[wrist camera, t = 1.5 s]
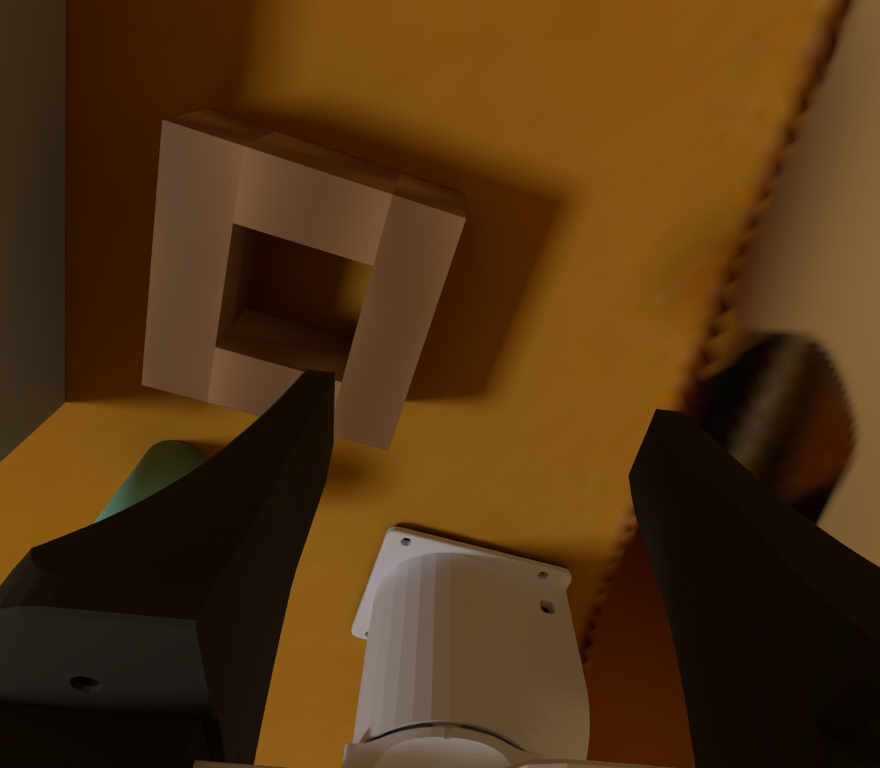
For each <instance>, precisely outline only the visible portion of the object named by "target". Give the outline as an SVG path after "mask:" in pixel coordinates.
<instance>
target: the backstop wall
mask: <svg viewBox="0 0 880 768" xmlns="http://www.w3.org/2000/svg"><path fill="white" fill-rule="evenodd" d="M65 238H66V0H0V462H1V461H2V460H3V459H4V458H5V457H6V456H7V455H8V454H10V453H11V452H12V451H13V450H14V449H15V448H16V447H17V446H18V445H19V444H20V443H22V442H23V441H24V440H25V439H26V438H27V437H28V436H29V435H30V434H31V433H33V432H34V431H35V430H36V429H37V428H38V427H39V426H40V425H41V424H42V423H43V422H45V421H46V420H47V419H48V418H49V417H50V416H51V415H52V414H53V413H54V412H55V411H57V410H58V409H59V408H60V407H61V406H62V405H63V404H64V403H65Z"/></svg>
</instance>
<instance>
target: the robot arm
mask: <svg viewBox="0 0 880 768" xmlns="http://www.w3.org/2000/svg"><path fill="white" fill-rule="evenodd" d="M334 402H335V372H326V371H318V370H309V369H307V370H306V371H304V372H303V373H302V374H301V375H300V376H299V377H298V378H297V380H296V381H295V382H294V383H293V384H292V385H291V386H290V387H289V388H288V389H287V390H286V391H285V393H284V394H283V395H282V396H281V397H280V398H279V399H278V400H277V401H276V402H275V403H274V404H273V405H272V406H271V407H270V408H269V409H268V410H266V411H265V412H264V413H263V414H262V415H261V416H260V417H259V418H258V419H257V420H256V421H255V422H254V423H253V424H252V425H250V426H249V427H248V428H247V429H246V430H245V431H243V432H242V433H241V434H240V435H239V436H238V437H236V438H235V439H234V440H233V441H232V442H230V443H229V444H228V445H227V446H226V447H224V448H223V449H222V450H220V451H219V452H218V453H216V454H215V455H214V456H212V457H211V458H210V459H208V460H207V461H206V462H204V463H203V464H201V465H200V466H198V467H197V468H196V469H194V470H193V471H191V472H190V473H188V474H187V475H185V476H183V477H182V478H180V479H178V480H177V481H175V482H173V483H172V484H170V485H168V486H167V487H165V488H163V489H161V490H160V491H158V492H156V493H155V494H153V495H151V496H149V497H147V498H146V499H144V500H142V501H140V502H138V503H136V504H134V505H132V506H130V507H128V508H126V509H124V510H122V511H120V512H118V513H116V514H113V515H111V516H109V517H107V518H105V519H103V520H101V521H98V522H96V523H94V524H92V525H89V526H87V527H84V528H82V529H79V530H77V531H74V532H72V533H69V534H67V535H64V536H62V537H59V538H57V539H54V540H52V541H49V542H47V543H44V544H42V545H39V546H36V547H33V548H31V550H30V551H29V552H28V553H27V554H26V555H25V557H24V558H23V559H22V560H21V561H20V562H19V563H18V564H17V566H16V567H15V568H14V569H13V570H12V571H11V573H10V574H9V575H8V577H7V578H6V579H5V581H4V582H3V583H2V585H1V586H0V768H285V767H273V766H261V765H254V761H255V755H256V750H257V745H258V740H259V735H260V730H261V725H262V720H263V715H264V710H265V705H266V700H267V695H268V691H269V686H270V681H271V676H272V671H273V667H274V662H275V657H276V653H277V648H278V644H279V639H280V635H281V630H282V625H283V621H284V617H285V612H286V608H287V604H288V599H289V595H290V590H291V586H292V583H293V579H294V576H295V572H296V569H297V566H298V563H299V560H300V557H301V554H302V551H303V548H304V545H305V542H306V539H307V536H308V533H309V530H310V527H311V524H312V521H313V518H314V516H315V513H316V510H317V507H318V504H319V501H320V498H321V495H322V492H323V489H324V486H325V482H326V478H327V473H328V468H329V463H330V458H331V453H332V448H333V443H334ZM629 482H630V488H631V495H632V500H633V506H634V511H635V516H636V519H637V522H638V525H639V529H640V531H641V535H642V537H643V541H644V544H645V547H646V550H647V553H648V556H649V559H650V562H651V565H652V568H653V571H654V574H655V577H656V580H657V583H658V586H659V589H660V592H661V595H662V598H663V601H664V604H665V608H666V611H667V615H668V618H669V622H670V627H671V631H672V636H673V641H674V645H675V650H676V655H677V659H678V664H679V669H680V675H681V680H682V685H683V691H684V696H685V702H686V707H687V714H688V720H689V727H690V733H691V740H692V746H693V753H694V759H695V767H696V768H880V567H878V566H877V565H875V564H873V563H872V562H870V561H868V560H867V559H865V558H864V557H862V556H860V555H859V554H857V553H856V552H854V551H853V550H851V549H849V548H848V547H847V546H845V545H844V544H842V543H841V542H839V541H838V540H836V539H835V538H833V537H832V536H830V535H829V534H828V533H826V532H825V531H823V530H822V529H821V528H819V527H818V526H816V525H815V524H814V523H812V522H811V521H809V520H808V519H807V518H805V517H804V516H803V515H801V514H800V513H799V512H798V511H796V510H795V509H794V508H792V507H791V506H790V505H789V504H787V503H786V502H785V501H784V500H783V499H781V498H780V497H779V496H778V495H776V494H775V493H774V492H773V491H771V490H770V489H769V488H768V487H767V486H766V485H764V484H763V483H762V482H761V481H760V480H759V479H757V478H756V477H755V476H754V475H753V474H752V473H751V472H749V471H748V470H747V469H746V468H745V467H744V466H743V465H742V464H740V463H739V462H738V461H737V460H736V459H735V458H734V457H733V456H732V455H731V454H729V453H728V452H727V451H726V450H725V449H724V448H723V447H722V446H721V445H720V444H719V443H718V442H716V441H715V440H714V439H713V438H712V437H711V436H710V435H709V434H708V433H707V432H706V431H704V430H703V429H702V428H701V427H700V426H699V425H698V424H697V423H695V422H694V421H693V420H692V419H691V418H690V417H688V416H687V415H686V414H685V413H683V412H677V411H668V410H660V409H656V411H655V413H654V416H653V418H652V420H651V423H650V425H649V428H648V430H647V432H646V435H645V437H644V440H643V442H642V444H641V447H640V449H639V452H638V454H637V456H636V459H635V461H634V464H633V466H632V468H631V471H630V473H629ZM403 538H409V539H410V540H404V539H403ZM540 572H545V573H540ZM571 580H572V578H571V573H570V571H569V570H568V569H566V568H562V567H558V566H554V565H550V564H546V563H542V562H538V561H534V560H530V559H526V558H522V557H518V556H514V555H510V554H506V553H502V552H498V551H494V550H490V549H486V548H482V547H478V546H474V545H470V544H466V543H462V542H458V541H454V540H450V539H446V538H442V537H438V536H434V535H430V534H426V533H422V532H418V531H414V530H410V529H406V528H402V527H391V528H390V529H388V531H387V532H386V535H385V538H384V540H383V543H382V546H381V549H380V551H379V554H378V557H377V559H376V562H375V565H374V568H373V570H372V573H371V576H370V579H369V581H368V584H367V587H366V590H365V592H364V595H363V598H362V600H361V603H360V606H359V609H358V611H357V614H356V617H355V620H354V622H353V625H352V634H353V635H354V636H356V637H358V638H362V639H367V645H366V652H365V659H364V666H363V673H362V680H361V687H360V694H359V701H358V708H357V715H356V722H355V729H354V736H353V743H348V744H346V745H345V750H344V757H343V763H342V768H670V767H658V766H647V765H635V764H622V763H611V762H599V761H587V760H586V757H587V751H588V742H589V723H590V721H589V703H588V695H587V689H586V684H585V679H584V674H583V670H582V665H581V660H580V655H579V650H578V646H577V641H576V636H575V631H574V627H573V622H572V617H571V612H570V607H569V603H568V598H567V593H566V589H567V587H568V586H569V584H570V583H571Z"/></svg>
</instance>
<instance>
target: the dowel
mask: <svg viewBox="0 0 880 768" xmlns="http://www.w3.org/2000/svg"><path fill="white" fill-rule="evenodd" d="M207 460H208V459H207V458H206V457H205V455H204V454H203V453H202V452H200V451H199V450H198V449H196V448H195V447H193V446H191V445H189V444H187V443H184V442H180V441H162V442H159V443H157V444H155V445H153V446H152V447H151V448H150V449H149V450H148V451H147V453H146V454H145V455H144V457H143V458H142V459H141V461H140V462H139V463H138V465H137V466H136V467H135V469H134V470H133V471H132V473H131V474H130V475H129V477H128V478H127V479H126V481H125V482H124V483H123V484H122V486H121V487H120V488H119V490H118V491H117V492H116V494H115V495H114V496H113V498H112V499H111V500H110V502H109V503H108V504H107V506H106V507H105V508H104V510H103V511H102V512H101V514H100V515H99V516H98V518H97V519H96V520H95V521H94V523H96V522H98V521H101V520H103V519H105V518H107V517H109V516H111V515H113V514H116V513H118V512H120V511H122V510H124V509H126V508H128V507H130V506H132V505H134V504H136V503H138V502H140V501H142V500H144V499H146V498H147V497H149V496H151V495H153V494H155V493H156V492H158V491H160V490H161V489H163V488H165V487H167V486H168V485H170V484H172V483H173V482H175V481H177V480H178V479H180V478H182V477H183V476H185V475H187V474H188V473H190V472H191V471H193V470H194V469H196V468H197V467H198V466H200V465H201V464H203V463H204V462H206V461H207ZM94 523H93V524H94Z"/></svg>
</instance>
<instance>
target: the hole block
mask: <svg viewBox="0 0 880 768" xmlns="http://www.w3.org/2000/svg"><path fill="white" fill-rule="evenodd" d="M465 221H466V209H465V197H464V194H463V193H460V192H457V191H454V190H451V189H448V188H445V187H442V186H439V185H436V184H433V183H430V182H427V181H424V180H421V179H418V178H415V177H412V176H409V175H406V174H403V173H400V172H397V171H394V170H391V169H388V168H385V167H382V166H379V165H376V164H373V163H370V162H367V161H364V160H361V159H358V158H355V157H352V156H349V155H346V154H343V153H340V152H337V151H334V150H331V149H328V148H325V147H322V146H319V145H316V144H313V143H310V142H307V141H304V140H301V139H298V138H295V137H292V136H289V135H286V134H283V133H279V132H276V131H273V130H270V129H267V128H264V127H261V126H258V125H255V124H252V123H249V122H246V121H243V120H240V119H237V118H234V117H231V116H228V115H225V114H222V113H219V112H216V111H213V110H210V109H203V110H199V111H195V112H191V113H187V114H182V115H178V116H174V117H170V118H166V119H162V129H161V142H160V155H159V167H158V180H157V193H156V206H155V219H154V231H153V244H152V257H151V270H150V283H149V296H148V308H147V321H146V334H145V347H144V360H143V372H142V385H144V386H148V387H152V388H155V389H159V390H163V391H167V392H170V393H174V394H178V395H182V396H185V397H189V398H193V399H197V400H200V401H204V402H208V403H212V404H216V405H219V406H223V407H227V408H231V409H234V410H238V411H242V412H246V413H249V414H253V415H257V416H261V415H262V414H263V413H264V412H265V411H266V410H268V409H269V408H270V407H271V406H272V405H273V404H274V403H275V402H276V401H277V400H278V399H279V398H280V397H281V396H282V395H283V394H284V393H285V391H286V390H287V389H288V388H289V387H290V386H291V385H292V384H293V383H294V382H295V381H296V380H297V378H298V377H299V376H300V375H301V374H302V373H303V372H304V371H306V370H307V369H309V370H318V371H326V372H335V402H334V436H336V437H339V438H343V439H347V440H351V441H354V442H358V443H362V444H366V445H369V446H373V447H377V448H381V449H385V450H388V449H389V446H390V443H391V440H392V438H393V435H394V432H395V429H396V426H397V423H398V420H399V417H400V414H401V411H402V408H403V405H404V402H405V399H406V396H407V393H408V390H409V387H410V384H411V381H412V378H413V375H414V372H415V369H416V366H417V363H418V360H419V357H420V354H421V351H422V348H423V345H424V343H425V340H426V337H427V334H428V331H429V328H430V325H431V322H432V319H433V316H434V313H435V310H436V307H437V304H438V301H439V298H440V295H441V292H442V289H443V286H444V283H445V280H446V277H447V274H448V271H449V268H450V265H451V262H452V259H453V256H454V253H455V250H456V248H457V245H458V242H459V239H460V236H461V233H462V230H463V227H464V224H465ZM259 231H260V232H264V233H267V234H270V235H273V236H277V237H280V238H283V239H286V240H289V241H293V242H296V243H299V244H302V245H306V246H309V247H312V248H315V249H319V250H322V251H325V252H328V253H332V254H335V255H338V256H341V257H345V258H348V259H351V260H354V261H358V262H361V263H364V264H367V265H371V266H373V269H372V272H371V276H370V280H369V283H368V287H367V291H366V294H365V298H364V302H363V306H362V309H361V313H360V317H359V320H358V324H357V328H356V331H355V335H354V339H352V338H348V337H345V336H342V335H338V334H335V333H331V332H328V331H324V330H321V329H317V328H314V327H311V326H307V325H304V324H300V323H297V322H293V321H290V320H286V319H283V318H279V317H276V316H273V315H269V314H266V313H262V312H259V311H255V310H252V309H248V308H246V307H247V301H248V295H249V289H250V283H251V277H252V271H253V265H254V259H255V253H256V247H257V241H258V235H259Z"/></svg>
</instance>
